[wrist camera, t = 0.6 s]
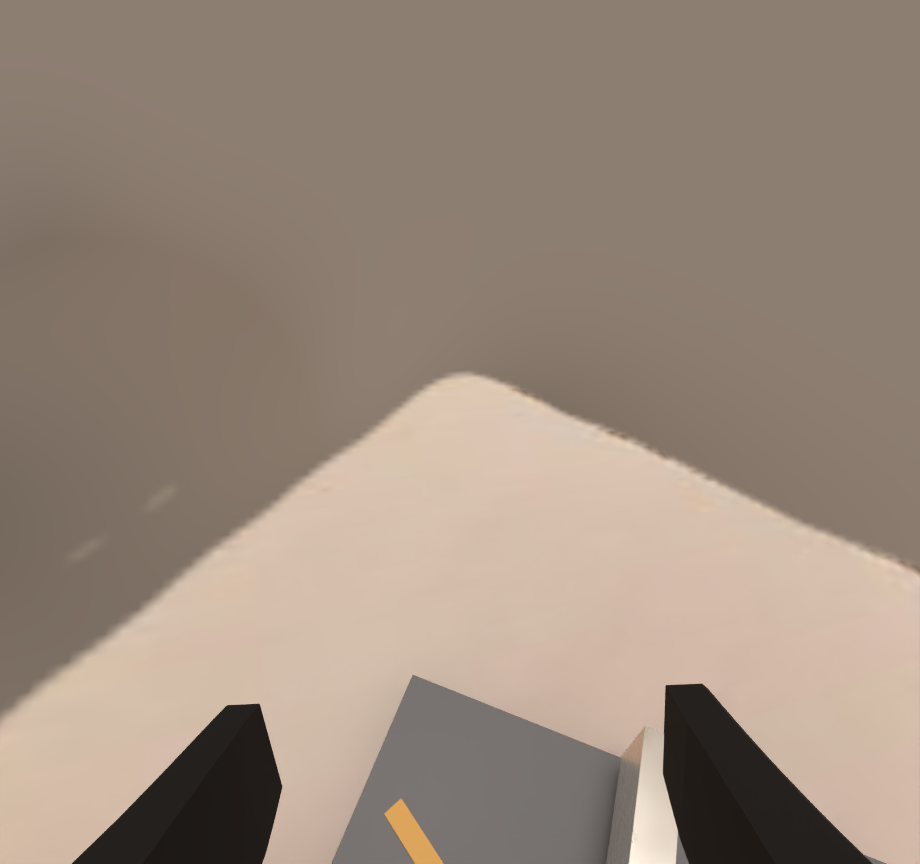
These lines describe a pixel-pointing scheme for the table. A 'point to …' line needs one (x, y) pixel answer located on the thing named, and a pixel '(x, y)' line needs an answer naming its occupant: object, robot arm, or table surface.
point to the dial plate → (481, 790)
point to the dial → (643, 806)
